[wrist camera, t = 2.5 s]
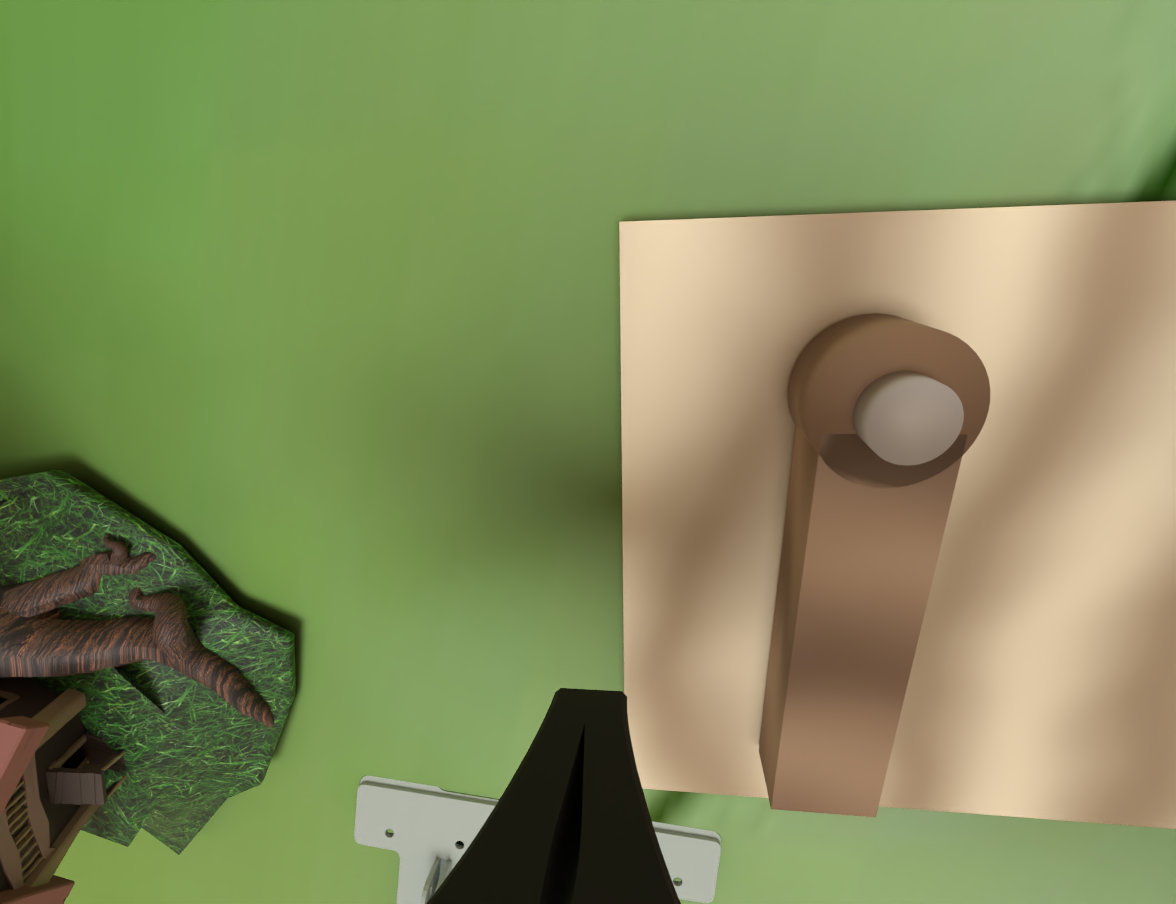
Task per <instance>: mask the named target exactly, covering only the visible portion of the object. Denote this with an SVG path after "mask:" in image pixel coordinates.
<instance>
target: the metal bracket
mask: <svg viewBox="0 0 1176 904" xmlns="http://www.w3.org/2000/svg"><path fill="white" fill-rule="evenodd" d="M498 801H499V799H493V798H487V797H481V796H474V795H468V794H462V793H456V792H450V791H445V790H442V789H441V788H440V787H436V786H429V785H423V784H417V783H411V782H405V781H399V780H392V779H386V778H380V777H374V776H365V777H363V778H362V779H361V781H360V786H359V788H358V792H357V805H356V819H355V833H354V838H355V841H356V842H357V843H359V844H361V845H366V846H372V847H378V848H384V849H390V850H394V851H396V852H397V853H398V854H399V856H400V868H399V880H398V892H397V904H426V903H427V902H428V901H429V900H430V898H431V897H432V896H433V895H434V893H435V892H436V891H437V889H438V888H439V887H440V885H441V884H442V883H443V881H444V880H445V879H446V877H447V876H448V875H449V873H450V872H451V871H452V869H453V868H454V867H455V865H456V864H457V862H458V861H459V860H460V858H461V857H462V855H463V854H464V853H465V851H466V850H467V848H468V847H469V845H470V844H471V843H472V841H473V840H474V838H475V837H476V835H477V834H478V832H479V831H480V829H481V828H482V826H483V825H484V823H485V821H486V820H487V818H488V817H489V815H490V814H491V812H492V810H493V809H494V807H495V806H496V804H497V803H498ZM652 824H653V827H654V830H655V833H656V836H657V839H658V842H659V845H660V848H661V851H662V854H663V857H664V860H665V863H666V866H667V869H668V871H669V874H670V877H671V880H672V882H673V885H674V888H675V890H676V893H677V895H678V898H679V899H683V900H689V901H695V902H701V903H710V902H711V901H713V899H714V894H715V887H716V880H717V873H718V866H719V860H720V853H721V847H720V844H721V838H720V835H719V834H718V833H716V832H714V831H708V830H702V829H695V828H689V827H683V826H677V825H671V824H665V823H658V822H652ZM387 829H391V830H393V832H394V834H393V833H388V832H387ZM457 841H462V842H463V843H464V845H459V844H457ZM677 877H679V878H681V879H682V880H681V881H680V882H679V881H674V879H675V878H677Z"/></svg>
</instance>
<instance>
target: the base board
mask: <svg viewBox="0 0 1176 904" xmlns="http://www.w3.org/2000/svg"><path fill="white" fill-rule="evenodd" d="M619 227H620V327H621V426H622V525H623V625H624V694H625V695H626V696H627V714H628V724H629V731H630V737H631V742H632V748H633V753H634V758H635V762H636V766H637V771H638V774H639V778H640V782H641V786H642V788H644V789H657V790H670V791H683V792H697V793H710V794H723V795H736V796H749V797H762V798H769V797H768V792H767V787H766V783H765V778H764V773H763V769H762V764H761V759H760V754H759V743H760V735H761V726H762V717H763V709H764V700H765V691H766V683H767V674H768V665H769V657H770V648H771V639H772V631H773V622H774V613H775V604H776V596H777V587H778V578H779V570H780V561H781V552H782V544H783V535H784V526H785V518H786V509H787V500H788V492H789V483H790V474H791V466H792V457H793V448H794V439H795V431H796V424H795V423H794V421H793V418H792V416H791V413H790V409H789V405H788V386H789V380H790V376H791V373H792V370H793V368H794V366H795V363H796V361H797V360H798V358H799V356H800V355H801V353H802V352H803V350H804V349H805V348H806V347H807V346H808V344H809V343H810V342H811V341H812V340H813V339H814V338H815V337H816V336H818V335H819V334H820V333H822V332H823V331H824V330H826V329H827V328H829V327H830V326H832V325H834V324H836V323H838V322H840V321H842V320H845V319H848V318H851V317H854V316H858V315H863V314H874V313H878V314H889V315H895V316H898V317H901V318H904V319H907V320H911V321H914V322H917V323H920V324H923V325H926V326H929V327H932V328H936V329H939V330H942V331H945V332H948V333H950V334H952V335H954V336H956V337H958V338H960V339H961V340H962V341H964V342H965V343H967V344H968V345H969V346H970V347H971V348H972V349H973V350H974V351H975V352H976V353H977V355H978V356H979V358H980V359H981V360H982V362H983V365H984V367H985V369H986V371H987V375H988V378H989V383H990V405H989V411H988V414H987V418H986V421H985V423H984V425H983V428H982V430H981V432H980V434H979V435H978V437H977V438H976V440H975V442H974V443H973V444H972V446H971V447H970V448H969V449H968V450H967V452H966V453H965V454H964V455H963V456H962V460H961V464H960V468H959V472H958V476H957V481H956V485H955V489H954V493H953V497H952V502H951V506H950V510H949V514H948V518H947V522H946V527H945V531H944V535H943V539H942V543H941V547H940V552H939V556H938V560H937V564H936V568H935V572H934V577H933V581H932V585H931V589H930V593H929V597H928V602H927V606H926V610H925V614H924V618H923V623H922V627H921V631H920V635H919V639H918V643H917V648H916V652H915V656H914V660H913V664H912V668H911V673H910V677H909V681H908V685H907V689H906V693H905V698H904V702H903V706H902V710H901V714H900V718H899V723H898V727H897V731H896V735H895V739H894V744H893V748H892V752H891V756H890V760H889V764H888V769H887V773H886V777H885V781H884V785H883V789H882V794H881V798H880V802H879V806H881V807H894V808H907V809H920V810H933V811H947V812H960V813H973V814H986V815H999V816H1012V817H1026V818H1039V819H1052V820H1065V821H1078V822H1091V823H1105V824H1118V825H1131V826H1144V827H1157V828H1170V829H1176V201H1153V202H1127V203H1100V204H1074V205H1047V206H1021V207H995V208H968V209H942V210H916V211H889V212H863V213H837V214H810V215H784V216H758V217H731V218H705V219H679V220H652V221H626V222H619Z"/></svg>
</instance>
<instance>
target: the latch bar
mask: <svg viewBox="0 0 1176 904" xmlns="http://www.w3.org/2000/svg"><path fill="white" fill-rule="evenodd" d="M788 405H789V409H790V413H791V416H792V418H793V421H794V423H795V424H796V431H795V439H794V448H793V457H792V466H791V474H790V483H789V492H788V500H787V509H786V518H785V526H784V535H783V544H782V552H781V561H780V570H779V578H778V587H777V596H776V604H775V613H774V622H773V631H772V639H771V648H770V657H769V665H768V674H767V683H766V691H765V700H764V709H763V717H762V726H761V735H760V743H759V754H760V759H761V764H762V769H763V773H764V778H765V783H766V787H767V792H768V797H769V801H770V806H771V809H778V810H791V811H804V812H817V813H830V814H842V815H855V816H868V817H876V814H877V810H878V806H879V802H880V798H881V794H882V789H883V785H884V781H885V777H886V773H887V769H888V764H889V760H890V756H891V752H892V748H893V744H894V739H895V735H896V731H897V727H898V723H899V718H900V714H901V710H902V706H903V702H904V698H905V693H906V689H907V685H908V681H909V677H910V673H911V668H912V664H913V660H914V656H915V652H916V648H917V643H918V639H919V635H920V631H921V627H922V623H923V618H924V614H925V610H926V606H927V602H928V597H929V593H930V589H931V585H932V581H933V577H934V572H935V568H936V564H937V560H938V556H939V552H940V547H941V543H942V539H943V535H944V531H945V527H946V522H947V518H948V514H949V510H950V506H951V502H952V497H953V493H954V489H955V485H956V481H957V476H958V472H959V468H960V464H961V460H962V456H963V455H964V454H965V453H966V452H967V450H968V449H969V448H970V447H971V446H972V444H973V443H974V442H975V440H976V438H977V437H978V435H979V434H980V432H981V430H982V428H983V425H984V423H985V421H986V418H987V414H988V411H989V405H990V383H989V378H988V375H987V371H986V369H985V367H984V365H983V362H982V360H981V359H980V358H979V356H978V355H977V353H976V352H975V351H974V350H973V349H972V348H971V347H970V346H969V345H968V344H967V343H965V342H964V341H962V340H961V339H960V338H958V337H956V336H954V335H952V334H950V333H948V332H945V331H942V330H939V329H936V328H932V327H929V326H926V325H923V324H920V323H917V322H914V321H911V320H907V319H904V318H901V317H898V316H895V315H889V314H878V313H874V314H863V315H858V316H854V317H851V318H848V319H845V320H842V321H840V322H838V323H836V324H834V325H832V326H830V327H829V328H827V329H826V330H824V331H823V332H822V333H820V334H819V335H818V336H816V337H815V338H814V339H813V340H812V341H811V342H810V343H809V344H808V346H807V347H806V348H805V349H804V350H803V352H802V353H801V355H800V356H799V358H798V360H797V361H796V363H795V366H794V368H793V370H792V373H791V376H790V380H789V386H788Z"/></svg>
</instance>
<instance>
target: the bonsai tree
mask: <svg viewBox="0 0 1176 904" xmlns="http://www.w3.org/2000/svg"><path fill="white" fill-rule="evenodd" d="M295 694H296V686H295V646H294V633H292V632H290V631H288V630H286V629H284V628H282V627H280V626H278V625H276V624H274V623H272V622H270V621H268V620H266V619H264V618H262V617H260V616H258V615H256V614H254V613H252V612H250V611H248V610H246V609H244V608H242V607H240V606H238V605H237V604H236V603H235V602H234V601H233V600H232V599H231V597H230V596H229V595H228V594H227V593H226V592H225V591H224V590H223V589H222V588H221V587H220V586H219V585H218V584H217V583H216V582H215V581H214V580H213V578H212V577H211V576H210V575H209V574H208V573H207V572H206V571H205V570H204V569H203V568H202V567H201V566H200V565H199V564H198V563H197V562H196V560H195V559H194V558H193V557H192V556H191V555H190V554H189V553H188V552H187V551H186V550H185V549H184V548H183V547H182V546H181V545H180V544H179V543H177V542H175V541H174V540H172V539H171V538H169V537H167V536H166V535H164V534H163V533H161V532H160V531H158V530H156V529H155V528H153V527H152V526H150V525H149V524H147V523H146V522H144V521H142V520H141V519H139V518H138V517H136V516H135V515H133V514H131V513H130V512H128V511H127V510H125V509H124V508H122V507H121V506H119V505H117V504H116V503H114V502H113V501H111V500H110V499H108V498H107V497H105V496H103V495H102V494H100V493H99V492H97V491H96V490H94V489H92V488H91V487H89V486H88V485H86V484H85V483H83V482H82V481H80V480H78V479H77V478H75V477H74V476H72V475H71V474H69V473H67V472H65V471H62V470H60V469H55V470H49V471H43V472H37V473H31V474H25V475H20V476H14V477H8V478H2V479H0V904H64V901H65V899H66V898H67V897H68V895H69V893H70V891H71V889H72V887H73V885H74V884H75V883H74V881H72V880H68V879H65V878H62V877H58V876H55V875H53V874H54V873H55V871H56V869H57V868H58V866H59V864H60V863H61V861H62V859H63V858H64V856H65V854H66V853H67V851H68V849H69V847H70V846H71V844H72V842H73V841H74V839H75V837H76V836H77V834H78V833H79V831H80V830H83V831H86V832H88V833H91V834H94V835H97V836H99V837H102V838H105V839H108V840H111V841H113V842H116V843H119V844H122V845H125V846H127V847H128V846H129V845H130V843H131V842H132V841H133V839H134V838H135V836H136V835H137V833H138V832H139V830H140V829H141V827H142V828H143V829H145V830H146V831H147V832H149V833H150V834H151V835H153V836H154V837H155V838H157V839H158V840H159V841H161V842H162V843H164V844H165V845H166V846H168V847H169V848H170V849H172V850H173V851H174V852H176V853H177V854H178V855H179V854H180V853H181V852H182V851H183V850H184V849H185V847H186V846H187V845H188V844H189V843H190V842H191V840H192V839H193V838H194V837H195V836H196V835H197V833H198V832H199V831H200V830H201V829H202V827H203V826H204V825H205V824H206V823H207V822H208V820H209V819H210V818H211V817H212V816H213V815H214V813H215V812H216V811H217V810H218V809H219V808H220V806H221V805H222V804H223V803H224V802H225V800H226V799H227V798H229V797H232V796H234V795H236V794H239V793H241V792H243V791H246V790H248V789H250V788H253V787H255V786H258V785H260V784H261V783H262V781H263V780H264V777H265V775H266V772H267V770H268V767H269V764H270V762H271V759H272V756H273V754H274V751H275V748H276V746H277V743H278V740H279V738H280V735H281V732H282V730H283V727H284V724H285V722H286V719H287V716H288V714H289V711H290V708H291V706H292V703H293V700H294V698H295Z"/></svg>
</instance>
